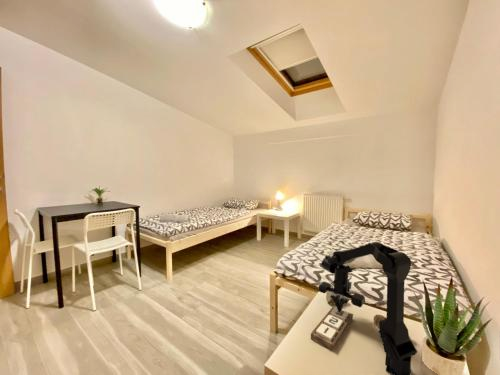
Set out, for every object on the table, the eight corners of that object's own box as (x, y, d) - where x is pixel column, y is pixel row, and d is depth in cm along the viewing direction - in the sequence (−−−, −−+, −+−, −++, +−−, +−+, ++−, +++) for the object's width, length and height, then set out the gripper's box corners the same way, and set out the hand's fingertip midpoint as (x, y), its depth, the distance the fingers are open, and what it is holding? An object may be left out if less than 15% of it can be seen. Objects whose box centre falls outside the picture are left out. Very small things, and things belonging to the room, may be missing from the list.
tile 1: (336, 333, 87) (336, 329, 87) (330, 342, 83) (330, 338, 83) (322, 326, 91) (322, 322, 91) (315, 334, 87) (316, 330, 87)
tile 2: (342, 323, 93) (343, 320, 93) (337, 331, 89) (338, 327, 88) (329, 317, 97) (329, 314, 97) (323, 324, 93) (323, 320, 92)
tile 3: (348, 315, 99) (348, 311, 99) (344, 322, 94) (344, 318, 94) (335, 309, 103) (335, 306, 103) (330, 315, 98) (330, 312, 98)
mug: (350, 307, 108) (342, 292, 106) (331, 312, 111) (323, 298, 109) (346, 296, 115) (339, 281, 113) (328, 300, 118) (321, 287, 116)
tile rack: (352, 319, 99) (353, 314, 99) (333, 351, 81) (333, 345, 81) (333, 310, 105) (333, 306, 105) (310, 339, 87) (310, 333, 87)
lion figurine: (377, 341, 86) (378, 319, 86) (369, 331, 92) (370, 311, 91) (413, 340, 87) (414, 319, 86) (403, 331, 92) (404, 311, 91)
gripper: (368, 278, 97) (367, 312, 98) (327, 266, 109) (326, 296, 110) (361, 288, 89) (360, 324, 90) (318, 273, 101) (317, 306, 102)
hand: (339, 311), depth 98 cm, fingers closed
